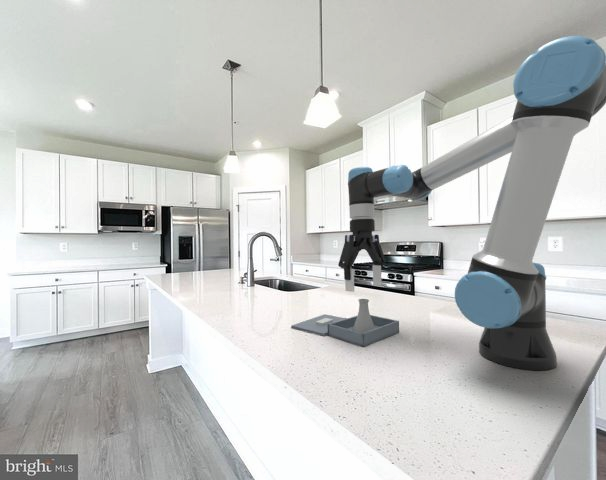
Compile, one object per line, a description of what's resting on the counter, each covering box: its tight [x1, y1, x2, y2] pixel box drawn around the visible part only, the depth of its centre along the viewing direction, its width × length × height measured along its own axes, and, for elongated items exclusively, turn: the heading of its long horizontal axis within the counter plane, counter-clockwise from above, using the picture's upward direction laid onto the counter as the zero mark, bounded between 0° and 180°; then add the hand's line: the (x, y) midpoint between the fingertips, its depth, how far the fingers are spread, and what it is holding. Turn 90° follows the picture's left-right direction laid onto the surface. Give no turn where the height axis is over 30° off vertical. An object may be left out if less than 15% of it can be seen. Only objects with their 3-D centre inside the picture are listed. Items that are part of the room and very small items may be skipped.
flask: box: [353, 298, 375, 333], centre depth 90 cm, size 7×7×10 cm
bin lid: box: [290, 313, 347, 337], centre depth 100 cm, size 14×19×2 cm
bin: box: [327, 314, 400, 348], centre depth 90 cm, size 13×18×4 cm
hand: (364, 288), depth 90 cm, fingers open, 13 cm apart
